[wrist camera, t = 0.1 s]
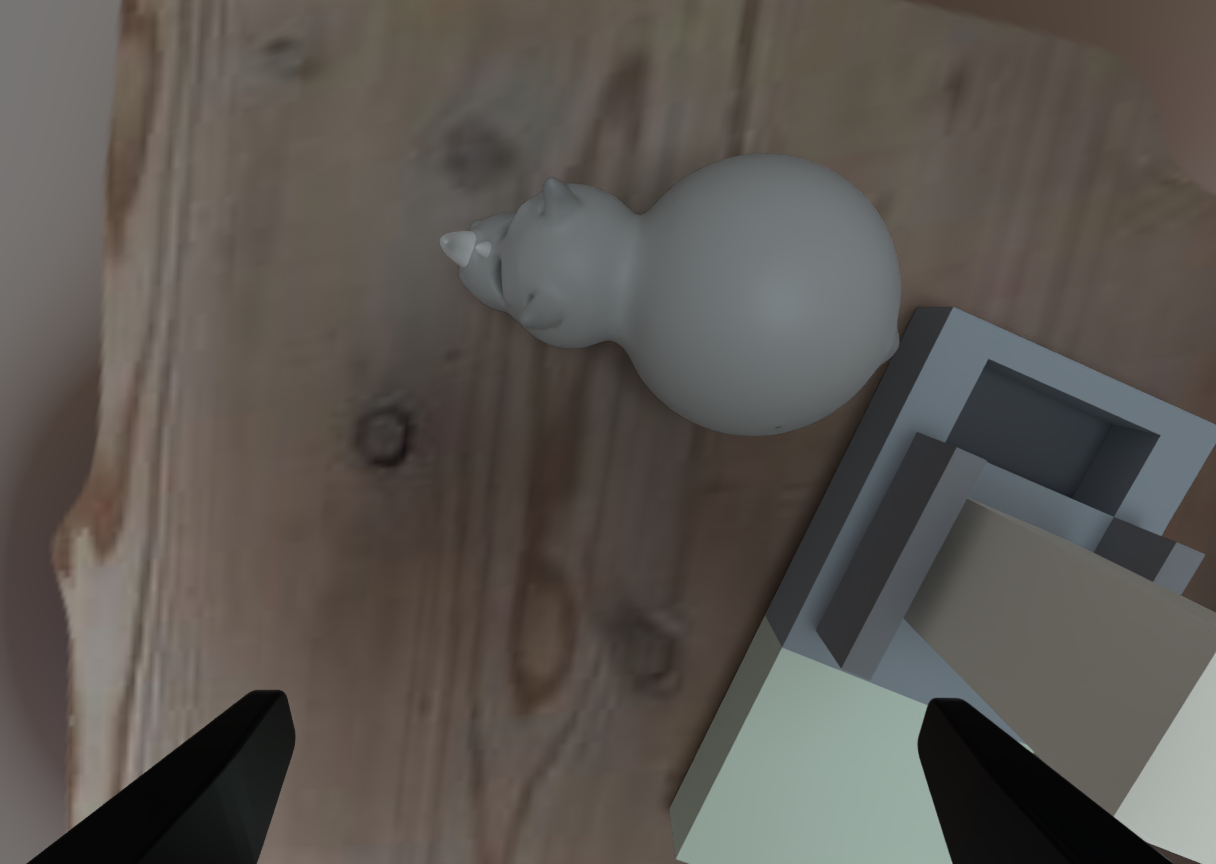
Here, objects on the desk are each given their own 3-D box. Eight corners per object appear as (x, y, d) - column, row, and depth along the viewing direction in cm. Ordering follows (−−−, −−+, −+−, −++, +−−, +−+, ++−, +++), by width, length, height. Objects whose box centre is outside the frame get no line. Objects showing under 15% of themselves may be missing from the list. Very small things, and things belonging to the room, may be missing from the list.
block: (1004, 652, 23) (1297, 901, 14) (891, 606, 23) (1107, 826, 13) (1068, 540, 23) (1425, 716, 13) (952, 490, 22) (1228, 632, 13)
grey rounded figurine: (495, 136, 23) (429, 27, 14) (854, 217, 23) (1006, 160, 15) (457, 356, 24) (375, 382, 15) (798, 427, 25) (907, 492, 16)
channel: (890, 891, 28) (952, 1015, 23) (669, 809, 27) (683, 919, 22) (1161, 416, 25) (1302, 443, 20) (917, 307, 24) (999, 306, 19)
